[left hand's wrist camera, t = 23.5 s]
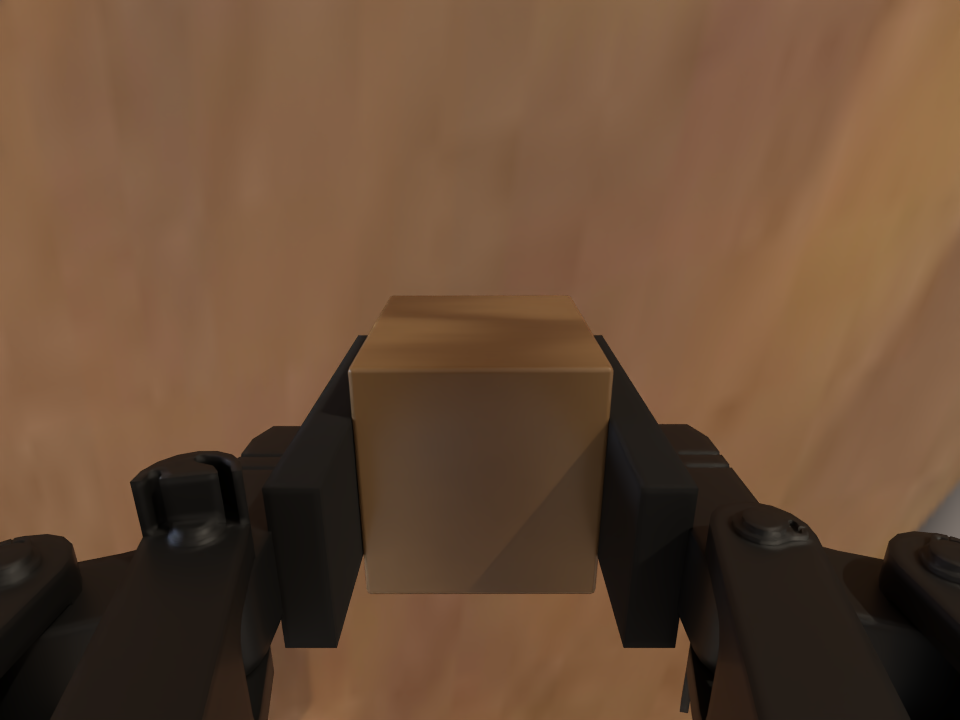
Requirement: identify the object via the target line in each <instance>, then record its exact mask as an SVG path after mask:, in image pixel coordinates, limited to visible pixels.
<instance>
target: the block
mask: <svg viewBox="0 0 960 720" xmlns="http://www.w3.org/2000/svg"><path fill="white" fill-rule="evenodd" d="M348 378H349V390H350V401H351V413H352V424H353V436H354V448H355V459H356V471H357V483H358V495H359V507H360V519H361V531H362V542H363V554H364V566H365V578H366V589H367V591H368V593H370V594H591V593H594V591H595V588H596V576H597V564H598V545H599V533H600V521H601V509H602V497H603V485H604V473H605V461H606V449H607V437H608V425H609V418H610V407H611V395H612V383H613V368H612V366H611V364H610V363H609V361H608V359H607V358H606V356H605V354H604V353H603V351H602V349H601V348H600V346H599V344H598V342H597V341H596V339H595V337H594V336H593V334H592V332H591V331H590V329H589V327H588V326H587V324H586V322H585V321H584V319H583V317H582V315H581V314H580V312H579V310H578V309H577V307H576V305H575V304H574V302H573V300H572V299H571V297H570V296H392V297H390V299H389V300H388V302H387V304H386V305H385V307H384V309H383V311H382V312H381V314H380V316H379V317H378V319H377V321H376V323H375V324H374V326H373V328H372V329H371V331H370V333H369V335H368V336H367V338H366V340H365V341H364V343H363V345H362V347H361V348H360V350H359V352H358V354H357V355H356V357H355V359H354V360H353V362H352V364H351V366H350V367H349V370H348Z"/></svg>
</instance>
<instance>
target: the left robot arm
mask: <svg viewBox="0 0 960 720" xmlns="http://www.w3.org/2000/svg"><path fill="white" fill-rule="evenodd" d="M367 336H368V335H358V337H357V339H356V340H355V342H354V343H353V345H352V346H351V348H350V350H349V351H348V353H347V354H346V356H345V357H344V359H343V361H342V362H341V364H340V365H339V367H338V369H337V370H336V372H335V373H334V375H333V376H332V378H331V380H330V381H329V383H328V384H327V386H326V388H325V389H324V391H323V392H322V394H321V395H320V397H319V399H318V400H317V402H316V403H315V405H314V406H313V408H312V410H311V411H310V413H309V414H308V416H307V418H306V419H305V421H304V422H303V424H302V425H301V426H273V427H272V428H270V429H268V430H267V431H265V432H263V433H262V434H260V435H259V436H257V437H255V438H254V439H253V440H252V441H251V442H250V443H249V445H248V446H247V447H246V449H245V450H244V451H243V453H242V454H241V457H239V458H238V459H237V458H236V457H235V456H233V455H232V454H228V453H223V452H219V451H197V452H192V453H186V454H180V455H176V456H173V457H170V458H167V459H165V460H162V461H159V462H157V463H155V464H153V465H151V466H149V467H148V468H146V469H144V470H142V471H141V472H140V473H139V474H138V475H137V476H136V477H135V478H134V479H133V480H132V481H131V482H130V484H131V488H132V493H133V497H134V501H135V505H136V509H137V514H138V518H139V522H140V526H141V530H142V535H143V538H142V540H141V542H140V544H139V546H138V548H137V550H134V551H130V552H126V553H122V554H117V555H112V556H107V557H102V558H97V559H92V560H87V561H82V562H77V559H76V555H75V552H74V548H73V545H72V543H70V542H69V541H68V540H67V539H66V538H64V537H62V536H56V535H50V534H43V535H32V536H22V537H17V538H14V539H13V540H11V539H9V540H6V541H3V542H0V720H268V713H269V705H270V698H271V690H272V683H273V675H274V669H273V661H272V654H271V648H270V645H271V642H272V640H273V637H274V635H275V633H276V630H277V628H278V625H279V623H280V621H281V622H282V628H283V635H284V642H285V648H337V645H338V642H339V638H340V635H341V631H342V628H343V624H344V621H345V617H346V614H347V610H348V606H349V603H350V599H351V596H352V592H353V589H354V585H355V582H356V578H357V575H358V571H359V568H360V564H361V561H362V557H363V542H362V531H361V519H360V507H359V495H358V483H357V471H356V459H355V448H354V436H353V424H352V413H351V401H350V390H349V378H348V370H349V367H350V366H351V364H352V362H353V360H354V359H355V357H356V355H357V354H358V352H359V350H360V348H361V347H362V345H363V343H364V341H365V340H366V338H367ZM593 336H594V337H595V339H596V341H597V342H598V344H599V346H600V348H601V349H602V351H603V353H604V354H605V356H606V358H607V359H608V361H609V363H610V364H611V366H612V368H613V383H612V395H611V407H610V418H609V425H608V437H607V449H606V461H605V473H604V485H603V497H602V509H601V521H600V533H599V545H598V559H599V563H600V566H601V570H602V573H603V577H604V580H605V584H606V587H607V591H608V594H609V598H610V602H611V605H612V609H613V612H614V616H615V619H616V623H617V626H618V630H619V633H620V637H621V640H622V644H623V647H624V648H675V644H676V638H677V631H678V624H679V618H680V619H681V621H682V624H683V626H684V629H685V631H686V633H687V636H688V638H689V640H690V648H689V654H688V660H687V667H686V673H685V679H684V685H683V692H682V698H681V705H680V712H684V713H688V710H689V704H691V712H692V719H693V720H960V539H958V538H955V537H948V536H947V535H943V534H938V533H926V532H916V531H913V532H907V533H901V534H897V535H896V536H895V537H894V538H892V539H891V540H890V541H889V543H888V547H887V550H886V554H885V557H884V560H883V559H877V558H872V557H867V556H862V555H857V554H852V553H847V552H842V551H837V550H833V549H829V548H825V547H822V545H821V543H820V541H819V539H818V537H817V536H816V534H815V533H814V532H813V531H812V530H811V528H810V527H809V526H808V525H807V524H806V523H804V522H803V521H801V520H800V519H798V518H797V517H795V516H794V515H792V514H791V513H788V512H786V511H783V510H781V509H778V508H776V507H773V506H770V505H765V504H760V503H759V502H758V501H757V500H756V498H755V497H754V496H753V495H752V493H751V492H750V491H749V489H748V488H747V487H746V486H745V484H744V483H743V482H742V480H741V479H740V478H739V477H738V475H737V474H736V473H735V471H734V470H733V469H732V468H729V464H728V462H727V461H726V460H725V458H724V457H723V456H722V455H720V454H719V451H718V449H717V448H716V447H715V446H714V444H713V443H712V442H711V440H710V439H709V438H708V437H707V436H705V435H704V434H702V433H700V432H699V431H697V430H696V429H694V428H692V427H691V426H689V425H687V424H658V423H657V422H656V420H655V418H654V417H653V415H652V414H651V412H650V411H649V409H648V407H647V406H646V404H645V403H644V401H643V399H642V398H641V396H640V395H639V393H638V392H637V390H636V388H635V387H634V385H633V384H632V382H631V381H630V379H629V377H628V376H627V374H626V373H625V371H624V369H623V368H622V366H621V365H620V363H619V362H618V360H617V358H616V357H615V355H614V354H613V352H612V351H611V349H610V347H609V346H608V344H607V343H606V341H605V339H604V338H603V336H602V335H593Z"/></svg>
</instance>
